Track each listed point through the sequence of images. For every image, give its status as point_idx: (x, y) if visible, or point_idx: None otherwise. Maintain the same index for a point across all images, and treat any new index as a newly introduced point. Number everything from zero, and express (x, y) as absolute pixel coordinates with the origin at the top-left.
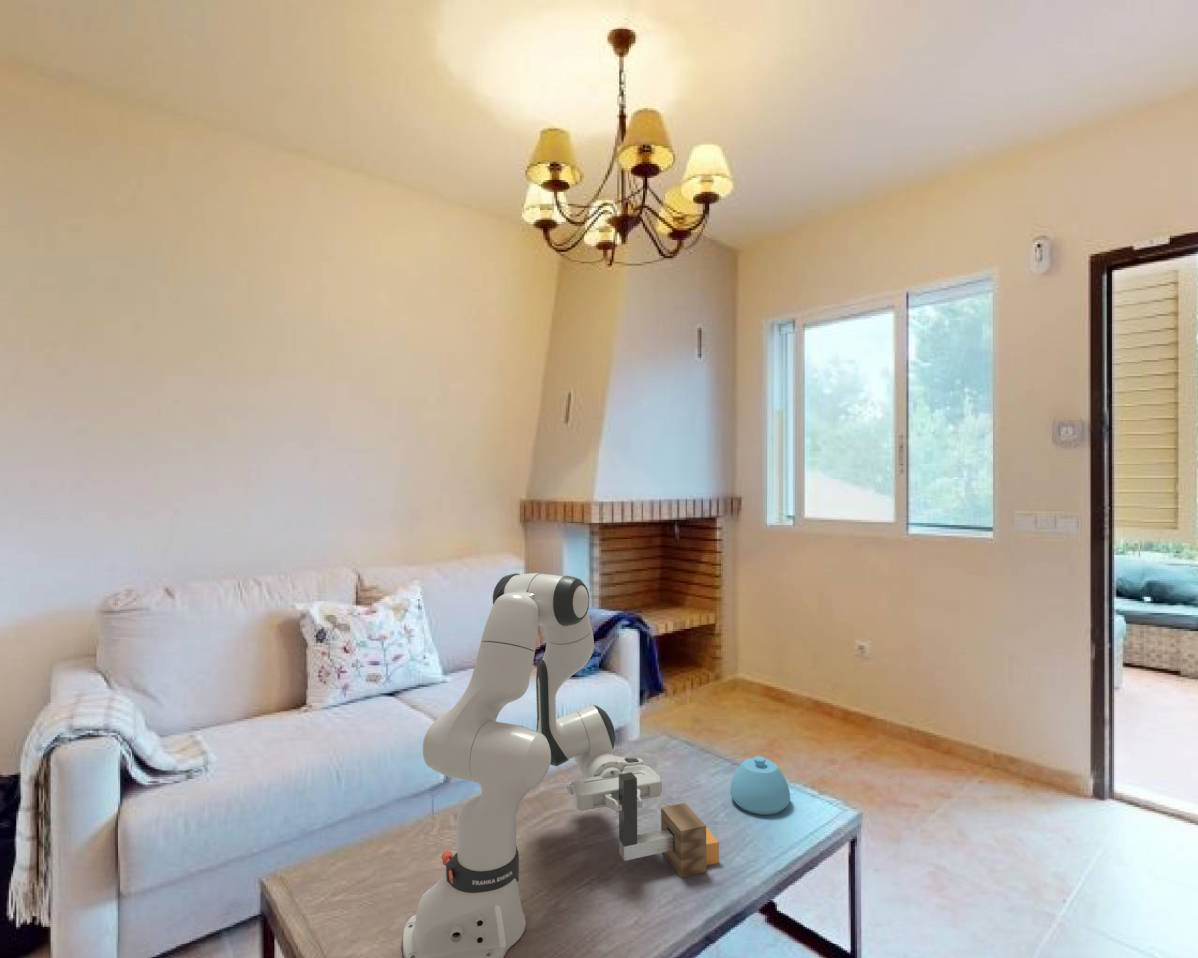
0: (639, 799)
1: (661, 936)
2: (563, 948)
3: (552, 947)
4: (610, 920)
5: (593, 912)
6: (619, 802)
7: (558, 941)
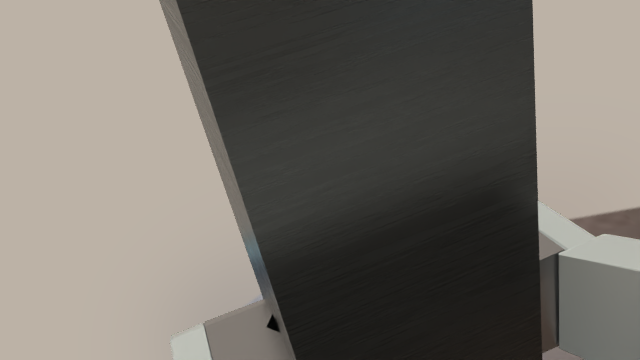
0: (203, 331)
1: None
2: (597, 217)
3: (634, 213)
4: None
5: (568, 352)
6: None
7: (629, 230)
